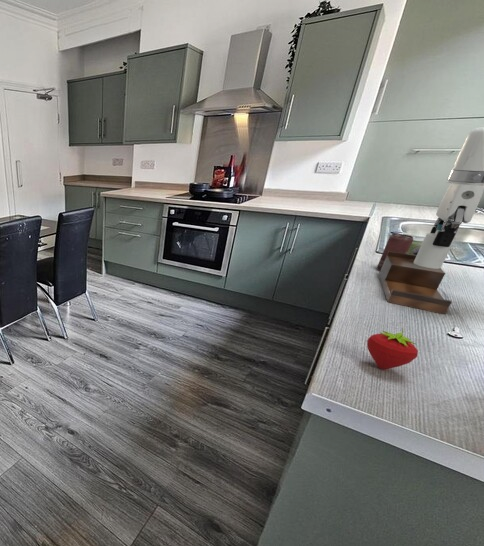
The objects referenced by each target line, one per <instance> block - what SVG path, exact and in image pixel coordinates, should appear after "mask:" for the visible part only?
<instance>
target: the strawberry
mask: <svg viewBox="0 0 484 546" xmlns="http://www.w3.org/2000/svg"><path fill="white" fill-rule="evenodd" d="M366 343H367V351H368V352H369V354H370V356H371V358H372V360H373V361H374V362H375V364H376V367H378V368H379V369H381V370H385V371H386V370H390V369H394V368H399V367H402V366H405V365H408V364H410V363H411V362H412V361H414V360H416V358H417V357H418V354H419V351H418V348H417V347H416V346H415V345H416V342H413V341H412V339H411V338H409V337H406V336H404V327H401V332H396V333H395V334H394V333H392V332H388V331H385V330H382V332H380V333H376V334H372V335H370V336H369V337H368V339H367V340H366Z"/></svg>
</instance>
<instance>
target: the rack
mask: <svg viewBox="0 0 484 546" xmlns="http://www.w3.org/2000/svg"><path fill="white" fill-rule="evenodd" d="M416 256H417V255H412V254H406V253H399V252H392V251H389V252H388V254H387V256H386V259H385V261H384V263H383V266H382V268H381V270H380V271H379V273H378V278H379V279H378V280H379V282H380V285H381V288H382V290H383V293H384V295H385V298H386V300H387V303H390V304H394V305H399V306H404V307H409V308H413V309H419V310H422V311H423V310H424V311H428V312H433V313H437V314H441V315H446V314H447V312H448V310H449V308H450V306H451V305H452V303H453V302H452V300H449V299H444V297H443V296H442V294H441V293H440V292H439V290H438V289H439V287H440V285H441V283H442V281H443V279H444V278H445V275H446V272H445V271H444V269H442V267H441V268H439V269H435V268H427V267H423V266H419V265H416V264H414V263H413V262H414V260H415V258H416Z"/></svg>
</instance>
